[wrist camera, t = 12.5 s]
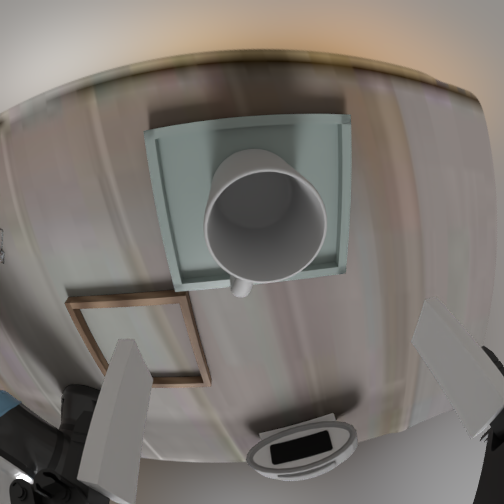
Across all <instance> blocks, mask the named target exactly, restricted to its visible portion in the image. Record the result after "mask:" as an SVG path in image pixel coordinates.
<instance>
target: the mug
mask: <svg viewBox="0 0 504 504" xmlns="http://www.w3.org/2000/svg"><path fill="white" fill-rule="evenodd" d="M203 231H204V238H205V242H206V245H207V248H208V250H209V252H210V254H211V256H212V257H213V259H214V260H215V261H216V262H217V264H218V265H219V266H220V267H221V268H222V269H224V270H225V271H226V272H228V273H229V274H230V287H231V291H232V293H233V294H234V295H235V296H237V297H245V296H247V295H248V294H249V292H250V290H251V288H252V285H253V282H254V283H272V282H277V281H281V280H284V279H287V278H290V277H292V276H294V275H296V274H297V273H299V272H301V271H302V270H303V269H304V268H306V267H307V266H308V265H309V264H310V263H311V262H312V261H313V260H314V258H315V257H316V256H317V254H318V253H319V251H320V249H321V247H322V245H323V243H324V240H325V237H326V231H327V213H326V209H325V205H324V203H323V200H322V198H321V196H320V195H319V193H318V191H317V190H316V189H315V187H314V186H313V185H312V184H311V183H310V182H309V181H308V180H307V179H306V178H305V177H304V176H302V175H301V174H300V173H299V172H297V171H296V170H295V169H294V168H292V167H291V166H290V165H289V164H287V163H286V162H285V161H284V160H283V159H282V158H281V157H279V156H278V155H276V154H274V153H272V152H270V151H267V150H263V149H245V150H241V151H238V152H236V153H234V154H232V155H231V156H229V157H228V158H226V159H225V160H224V161H223V162H222V163H221V164H220V166H219V167H218V169H217V170H216V172H215V174H214V176H213V179H212V183H211V189H210V193H209V197H208V201H207V206H206V210H205V215H204V222H203Z"/></svg>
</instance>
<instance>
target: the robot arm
mask: <svg viewBox="0 0 504 504" xmlns="http://www.w3.org/2000/svg"><path fill="white" fill-rule="evenodd" d="M411 342H412V344H413V345H414V347H415V348H416V349H417V351H418V352H419V354H420V355H421V357H422V358H423V360H424V362H425V363H426V365H427V366H428V368H429V369H430V371H431V372H432V374H433V375H434V377H435V379H436V380H437V382H438V383H439V385H440V387H441V388H442V390H443V391H444V393H445V395H446V396H447V398H448V400H449V401H450V403H451V405H452V406H453V408H454V410H455V412H456V413H457V415H458V417H459V419H460V420H461V422H462V424H463V426H464V428H465V429H466V431H467V433H468V435H469V437H470V439H471V438H473V437H475V436H476V435H478V434H480V433H481V432H482V431H483V430H484V429H485V428H486V427H487V426H488V425H489V424H490V426H491V428H490V429H489V430H488V431H487V432H486V433H485V434H484V435H483V436H482V437H481V440H480V442H482V441H483V440H484V439H485V438H486V437H487V436H488V438H487V439H486V440H485V441H484V442H485V443H487V446H486V452H485V457H484V462H483V467H482V472H481V476H480V480H479V484H478V488H477V492H476V495H475V499H474V502H473V504H504V367H503V365H502V363H501V362H500V361H498V358H497V357H496V356H495V355H494V353H493V352H492V351H490V350H489V349H488V348H486V347H485V346H483V347H480V345H479V344H478V343H477V342H476V341H475V339H474V338H473V337H472V336H471V335H470V333H469V332H468V331H467V330H466V329H465V328H464V326H463V325H462V324H461V323H460V322H459V321H458V320H457V318H456V317H455V316H454V315H453V314H452V313H451V312H450V311H449V310H448V308H447V307H446V306H445V305H444V304H443V303H442V302H441V301H440V300H439V299H438V298H437V297H432V298H428V299H425V301H424V304H423V307H422V311H421V314H420V317H419V320H418V323H417V326H416V329H415V332H414V335H413V337H412V340H411ZM152 384H153V378H152V376H151V374H150V372H149V370H148V368H147V366H146V364H145V361H144V359H143V357H142V355H141V353H140V351H139V349H138V346H137V344H136V342H135V340H134V339H118V342H117V345H116V347H115V350H114V353H113V355H112V358H111V361H110V364H109V367H108V370H107V373H106V375H105V378H104V381H103V384H102V388H101V391H98V390H96V389H93V388H90V387H87V386H82V385H70V386H67V387H66V388H65V390H64V392H63V395H62V398H61V402H62V405H61V425H60V428H59V429H57V428H56V427H54V426H53V425H51V424H50V423H48V422H47V421H45V420H44V419H42V418H41V417H39V416H38V415H37V414H35V413H34V412H33V411H31V410H30V409H29V408H27V407H26V406H25V405H24V404H22V402H21V401H18V400H17V399H16V398H14V397H13V396H12V395H10V394H9V393H8V392H6V391H4V390H0V504H109V501H110V499H111V500H113V501H115V502H116V503H121V504H135V502H136V491H137V482H138V473H139V464H140V457H141V450H142V443H143V436H144V429H145V423H146V417H147V411H148V405H149V400H150V394H151V389H152ZM32 483H33V484H32Z"/></svg>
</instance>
